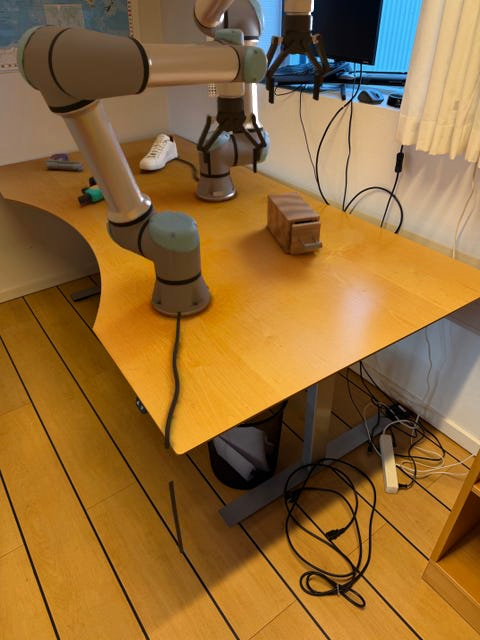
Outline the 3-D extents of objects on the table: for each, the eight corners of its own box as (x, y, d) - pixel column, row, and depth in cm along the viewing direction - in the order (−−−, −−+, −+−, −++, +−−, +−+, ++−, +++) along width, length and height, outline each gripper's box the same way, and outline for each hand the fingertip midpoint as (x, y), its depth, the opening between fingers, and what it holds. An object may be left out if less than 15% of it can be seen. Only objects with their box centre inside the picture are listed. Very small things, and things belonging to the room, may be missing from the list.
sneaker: (133, 173, 208) (129, 144, 201) (161, 153, 230) (158, 127, 223) (155, 175, 205) (151, 146, 198) (180, 155, 227) (178, 129, 220)
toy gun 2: (55, 191, 179) (85, 198, 173) (101, 171, 197) (130, 177, 192) (57, 202, 181) (87, 209, 176) (103, 182, 200) (131, 187, 194)
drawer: (326, 260, 141) (329, 231, 136) (298, 264, 139) (300, 235, 134) (296, 225, 161) (298, 199, 156) (272, 228, 159) (272, 202, 154)
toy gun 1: (94, 162, 221) (79, 173, 209) (58, 159, 224) (41, 170, 212) (93, 153, 219) (78, 164, 207) (56, 151, 222) (39, 161, 210)
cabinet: (316, 249, 149) (319, 216, 142) (286, 253, 147) (288, 220, 140) (294, 222, 165) (296, 192, 158) (267, 226, 163) (267, 195, 156)
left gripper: (273, 91, 133) (271, 166, 146) (184, 94, 131) (189, 170, 143) (278, 96, 127) (275, 174, 140) (185, 100, 125) (190, 179, 137)
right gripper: (336, 11, 130) (328, 95, 142) (248, 14, 124) (248, 101, 137) (348, 13, 124) (339, 101, 136) (256, 16, 119) (255, 107, 131)
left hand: (232, 172), depth 142 cm, fingers open, 13 cm apart
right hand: (293, 101), depth 137 cm, fingers open, 13 cm apart
